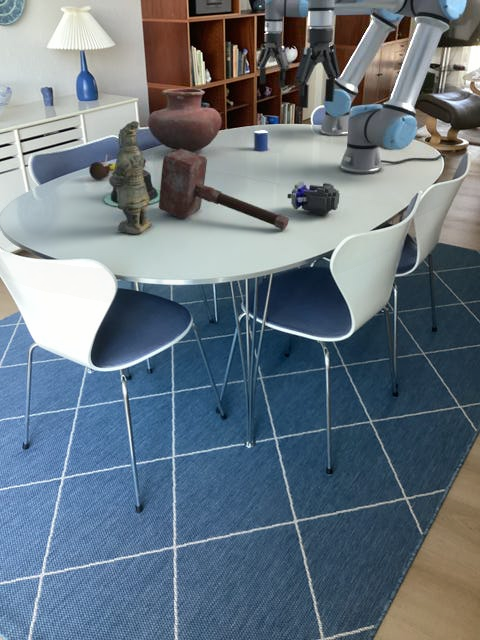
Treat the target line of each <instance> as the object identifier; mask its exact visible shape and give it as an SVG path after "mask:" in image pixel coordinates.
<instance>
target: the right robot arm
mask: <svg viewBox="0 0 480 640" xmlns="http://www.w3.org/2000/svg"><path fill="white" fill-rule="evenodd" d="M307 1H308V17H307V27H309V28H307V30H306V42H307V43H308V44H309V47H306V46H305V47H304V46H303V47H302V49H301V57H300V61H299V64H298V67H297V70H296V73H295V77H294V83H295V84H296V85H298V96H299V99H298V100H299V104H298V107H299V108H303V109H308V108H309V91H310V88H309V87H310V85H309V84H308V83H309V81H310V78H311V76H312V74H313V71H314V69H315V67H316V66H317V65H318V64H320V63H321V65H322V67H323V69H324V71H325V74H326V76H327V78H326V79H325V92H324V93H325V95H324V98H325V101H328V102H333V99H334V87H335V79H338V77H340V76H341V73H340V66H339V62H338V57H337V53H336V51H337V50H336V49H337V48H336V44H333V43H332V42H333V38H334V29H333V28H332V27H333V26H334V24H335V15H334V6H335V5H345V6H356V7H367V8H377V9H386V11H387V12H389V13H393V14H399V15H404V17H407V18H412V19H414V22H415V24H416V28H415V30H414V33H413V35H412V39H411V41H410V44H409V47H408V49H407V52H406V55H405V58H404V59H403V63H402V65H401V69H400V71H399V74H398V77H397V79H396V81H395V85H394V88H393V90H392V93H391V95H390V99H389V100H387V101H385V102H383V105H382V104H381V103H380V104H379V103H371V104H361V105H354V106H352V107H350V114H349V118H348V119H349V121H348V135H347V137H346V139H347V140H346V149H345V151H344V154H343V156H342V158H341V162H340V170H341V171H343V172H345V173H349V174H355V175H356V174H357V175H369V174H370V175H371V174H376V173H378V172H380V171H382V163H383V164H392V165H397V164H401V163H404V162H409V161H436V160H437V161H438V160H439V159H441V158H442V157H443V158H447V156H446V155H445V154H444V153H441V154H439V155H438V156H436V157H409V158H404V159H401V160H395V161H392V160H384V159H381V155H380V150H379V147H382V148H385V149H387V150H395V151H400V150H402V149H405V148H406V147H408V146H409V145H410V144H411V143H412V142H413V141H414V139H415V137H416V135H417V132H418V121H417V119H416V115H417V111H416V109H415V105H416V103H417V100H418V98H419V95H420V92H421V90H422V87H423V85H424V83H425V79H426V77H427V74H428V71H429V69H430V67H431V64H432V61H433V59H434V56H435V53H436V50H437V48H438V45H439V43H440V40H441V37H442V35H443V34H444V33H445V32H446V31H448V30H450V26H451V24H452V21H456V20H457V19H459V18H460V17H461V16H462V15H463V14H464V12H465V9H466V6H467V2H468V1H467V0H307Z"/></svg>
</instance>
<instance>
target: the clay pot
mask: <svg viewBox="0 0 480 640" xmlns="http://www.w3.org/2000/svg"><path fill="white" fill-rule="evenodd" d="M205 92H206V91H204V90H202V89H199V88H193V87H191V88H189V87H187V88H172V89H163V90H162V92H161V93H162V94H163V95H165V97H166V99H167V105H166V107H165V108H163V109H159V110H155V111H153V112H151V113H150V114H149V116H148V117H147V119H148V120H147V127H148V129H149V131H150V133H151V135H152V136H153V137H154V138H155V139H156V140H157V142H159V143H160V144H161V145H163V146H165V147H166V148H169V149H171V150H174V151H177V150H179V149H184V150H187V151H190V152H192V153H194V152H197V151H201V150H202V149H204V148H206V147H207V146H209V145H210V144H211V143H212V142H213V141H214V139H215V138H216V137H217V136H218V133H219V131H220V129H221V127H222V122H223V120H222V116H221V114H220V113H219V112H218V111H217V110H216V109H215V108H212V107H202V99H203V96H204V94H205Z"/></svg>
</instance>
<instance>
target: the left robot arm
mask: <svg viewBox="0 0 480 640" xmlns="http://www.w3.org/2000/svg"><path fill="white" fill-rule="evenodd" d="M264 2H265V3H264V32H265V33H264V43H261V44H260V51H259V55H258V58H257V61H256V64H255V65H256V67H258V68H259V85H264V84H266V82H267V81H266V80H267V79H266V75H267V68H266V65H267V63H268V62H269V60H270V58H271V57H273V58H274V59H275V61H276V63H277V66H278V68H279V71H278V88H285V80H286V73H287V72H286V71H289V70H290V66H289V62H288V56H287V53H286V46H285V45H281V43H282V42H283V34H282V32H283V21H284V20H283V19H284V18H308V1H307V0H265V1H264ZM348 15H351V16H353V15H370V18H371V23H370V24H369V26H368V28H367V29H366V31H365V33H364V35H363V36H362V38H361V40H360V42H359V44H358V45H357V47H356V49H355V50H354V52H353V54H352V56H351V57H350V59H349V61H348V63H347V64H346V66H345V68H344V70H343V71H342V73H341V74H340V75H339V77H338V79H335V87H334V99H333V102H328V101H325V97H324V99H323V107H324V110H325V111H324V118H323V121H322V122H321V126H320V130H319V132H320V134H322V135H325V136H332V137H333V136H335V137H340V136H341V137H342V136H348V121H349V119H348V118H349V114H350V109H351V106H352V103H353V102H354V100H355V98H356V97H357V95H358V93H359V89H358V87H359V85H360V84H361V81H362V80H363V78H364V77H365V75H366V73H367V72H368V70H369V68H370V66H371V65H372V63H373V61H374V59H375V58H376V56H377V54H378V53H379V51H380V49H381V47H382V46H383V45H384V43H385V42H386V39H387V38H388V36H389V34H390V33H392V32H394V31H396V29H397V28H398V26H399V25H400V23H401V21H402V20H403V18H404V17H405V16H404V15H399V14H393V13H389V12H387V11H386V9H377V8H367V7H356V6H345V5H335V6H334V16H348Z"/></svg>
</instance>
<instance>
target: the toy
mask: <svg viewBox="0 0 480 640" xmlns="http://www.w3.org/2000/svg"><path fill="white" fill-rule="evenodd" d="M293 187H294V188H293V189H292V191H291V193H288V194H287V199H291V200H290V201H291V202H290V203H291V206H292V207H293V210H298V209H299V208H301V210H303V211H306V212H307V214H310V215H311V214H312V215H318V216H326V215H328V213H330V212H331V211H336V210H337V209H338V205H339V204H340V194H341V193H340V190H338V189H337V188H335V187H334V184H332V183H328V182H324V183H322V185H315V184H310V185H309V186H308V187H309V188H308V187H307V185H306V184H305V183H304V181H301V180H299V181H298V182H296V183H295V184H294V186H293Z"/></svg>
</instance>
